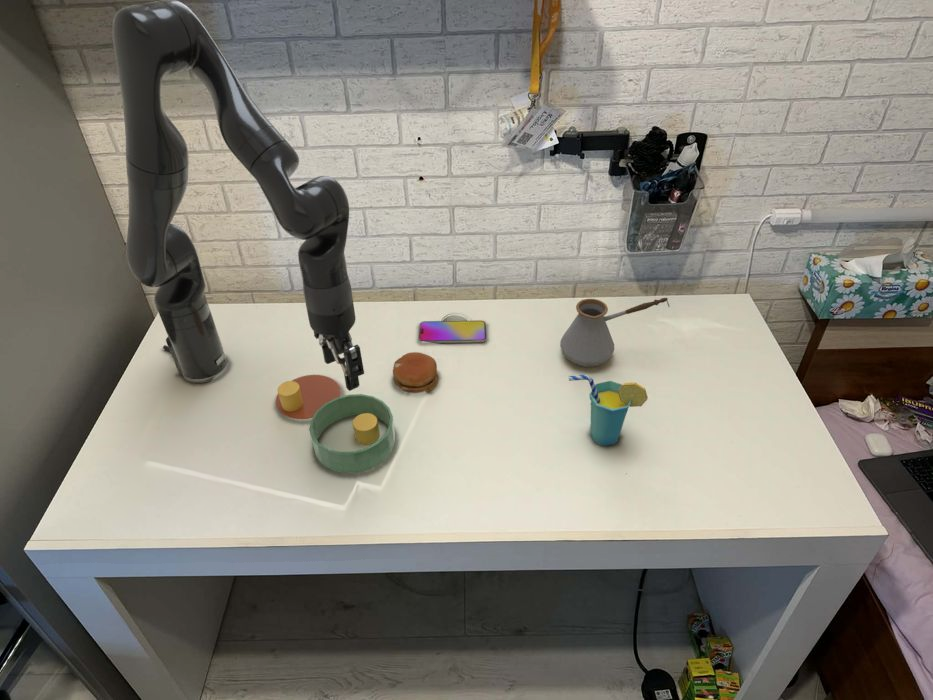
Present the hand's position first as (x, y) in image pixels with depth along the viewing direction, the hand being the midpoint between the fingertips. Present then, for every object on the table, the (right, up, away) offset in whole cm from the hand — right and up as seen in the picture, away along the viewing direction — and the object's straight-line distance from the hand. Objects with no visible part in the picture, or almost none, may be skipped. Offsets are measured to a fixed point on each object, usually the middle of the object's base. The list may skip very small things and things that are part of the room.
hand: (342, 374), depth 116 cm
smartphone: (+19, +8, +33) cm, 39 cm away
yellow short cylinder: (+3, -12, +8) cm, 15 cm away
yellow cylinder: (-13, -7, +15) cm, 20 cm away
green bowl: (+1, -14, +7) cm, 15 cm away
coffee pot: (+53, +3, +26) cm, 59 cm away
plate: (-10, -6, +17) cm, 21 cm away
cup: (+47, -12, +8) cm, 49 cm away
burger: (+11, -2, +21) cm, 24 cm away
